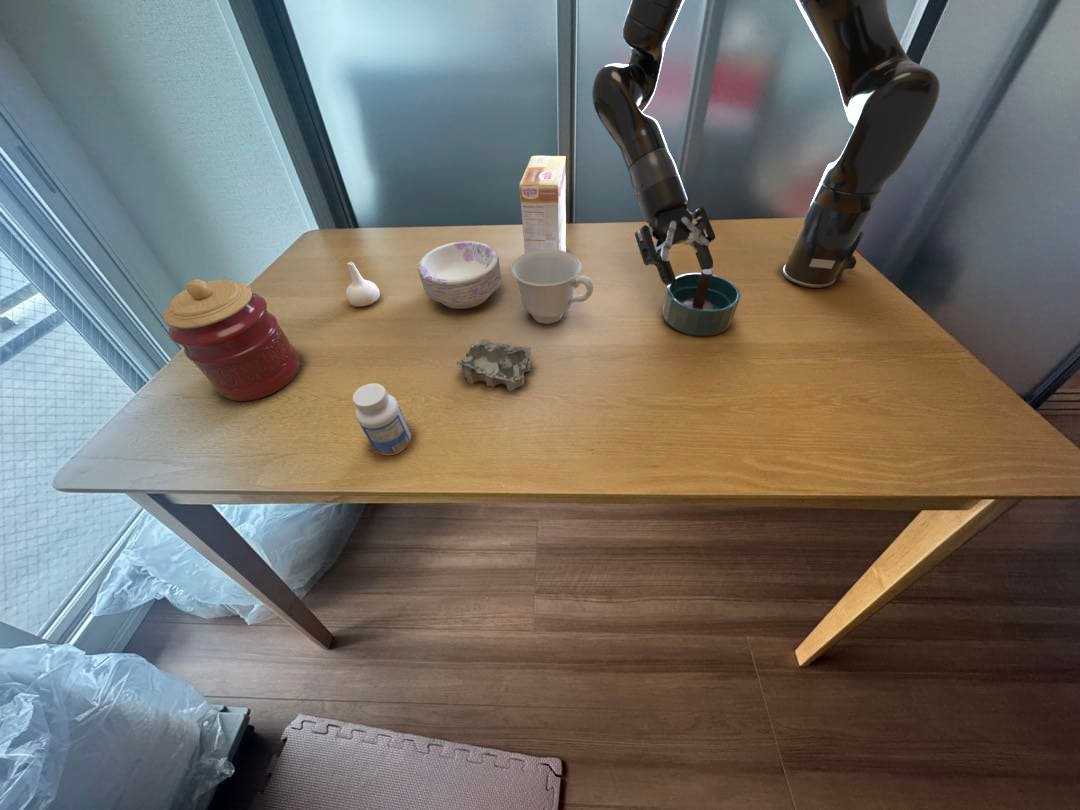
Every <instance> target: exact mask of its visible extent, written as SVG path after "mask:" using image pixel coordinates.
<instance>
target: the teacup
mask: <svg viewBox="0 0 1080 810" xmlns="http://www.w3.org/2000/svg"><path fill="white" fill-rule="evenodd" d="M581 271H582V263H581V261H580V260H579V259H578V258H577V257H576V256H575V255H573V254H572V253H570V252H568V251H566V252H565V251H561V250H555V249H542V250H535V251H531V252H528V253H525V252H524V253H523V254H521V255H520V256H518V257H517V258H516V259H515V260H514V261H513V262H512V263H511V266H510V272H511V275H512V276H513V277H514V278H515V280H516V283H517V286H518V287H517V288H518V291H519V296H520V299H521V303H522V305H523V307H524V309H525V310H526V311H527V312H528V313H529V314H530V315H531V316H532V318H533V320H534V321H536V322H537V323H540V324H545V325H546V324H548V325H549V324H555V323H557V322H558V321H560V320H561V319H562V318H563V314H565V313H566V312H567V311H568V310H569V309H570V307H571V305H572V304H574V303H579V302H580V303H581V302H585V301H587V300H588V299H590V298H591V296H592V294H593V292H594V284H593V281H592V279H591V278H590V277H588V276H586V275H580V276H578V275H579V274H580V273H581ZM577 276H578V277H577ZM581 284H583V285H584V287H586V292H585V294H581V295H576V296H574V293H575V289H577V288H578V287H579V286H580V285H581Z"/></svg>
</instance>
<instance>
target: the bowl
mask: <svg viewBox="0 0 1080 810" xmlns="http://www.w3.org/2000/svg"><path fill="white" fill-rule="evenodd" d="M700 275H701V272H689V273H682V274H680V275H677V276H675V278H676V282H674V283H672V284H670V285H667V286H666V289H665V295H664V300H663V303H662V309H661V313H662V318H663V319H664V320H665V322H666V323H667V324H668V325H669V326H671V327H672V328H673V329H674V330H676V331H678V332H680V333H683V334H686V335H690V336H695V337H708V336H709V337H710V336H714V335H719V334H720V333H723V332H725V331H726V330H727V329H728V328H729V327H730V326H731V325H732V322H733V320H734V316H735V314H736V311H737V308H738V305H739V303H740V300H741V296H742V295H741V292H740V289H739V288H738V287H737V286H736V285H735V284H734V283H733V282H731V281H730V280H729V279H727V278H725V277H723V276H722V277H721V276H719V275H716V274H712V278H711V281H710V284H709V288H708V291H707V295H706V298H705V299H706V300H708V301H709V302H710V303H711V304H712V306H713V308H712V310H704V309H698V308H693V307H689V306H687V305H685V304H683V303H684V301H685V300H686V299H689V298H694V297H695V294H696V290H697V286H698V283H699V279H700Z"/></svg>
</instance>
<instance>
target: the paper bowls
mask: <svg viewBox="0 0 1080 810" xmlns="http://www.w3.org/2000/svg"><path fill="white" fill-rule="evenodd" d="M417 272H418V275H419V278H420V282H421V284H422V287H423V290H424V293H425V295H426V296H427V297H428V298H429V299H431V300H433V301H435V302H438V303H441V304H442V305H444V306H445V307H448V308H451V309H455V310H456V309H459V310H463V309H464V310H465V309H470V308H475V307H477V306H480V305H481V304H483V303H484V302H486V301H487V300H488V299H489V297H490V296H491V295H492V294H493V293H494V292H495V291H496V290H497V289H498V288H499V287H500V285H501V283H502V282H501V281H502V273H501V272H502V271H501V264H500V257H499V255H498V252H497V251H496V250H495V248H494V247H492V246H490V245H488V244H486V243H482V242H479V241H466V240H465V241H463V240H462V241H456V242H450V243H446V244H443V245H440V246H437V247H435V248H433V249H431V250H430V251H428V252H427V253H425V255H423V257H421V259H420V260H419V263H418V265H417Z"/></svg>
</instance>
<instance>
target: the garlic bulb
mask: <svg viewBox="0 0 1080 810" xmlns="http://www.w3.org/2000/svg"><path fill="white" fill-rule="evenodd" d="M346 265H347V266H348V269H349V274H350V278H351V282H350V284H349V285H348V286H347V288H346V289H345V297H346V301H347V302H348V303H349V304H350V305H351V306H353V307H366V306H370V305H372V304H374V303H375V302H377V301H378V300H379V298H380V295H381V292H380V289H379V287H378V286H377V285H376V283H374V282H373V281H371V280H368V279H364V277H363V276H362V275H361V273H360V271H359V270H358V268H357V267H356V265H355V263H354V261H349V262H347V263H346Z"/></svg>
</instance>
